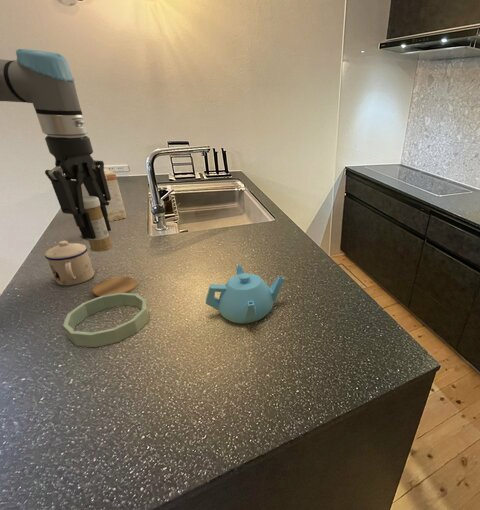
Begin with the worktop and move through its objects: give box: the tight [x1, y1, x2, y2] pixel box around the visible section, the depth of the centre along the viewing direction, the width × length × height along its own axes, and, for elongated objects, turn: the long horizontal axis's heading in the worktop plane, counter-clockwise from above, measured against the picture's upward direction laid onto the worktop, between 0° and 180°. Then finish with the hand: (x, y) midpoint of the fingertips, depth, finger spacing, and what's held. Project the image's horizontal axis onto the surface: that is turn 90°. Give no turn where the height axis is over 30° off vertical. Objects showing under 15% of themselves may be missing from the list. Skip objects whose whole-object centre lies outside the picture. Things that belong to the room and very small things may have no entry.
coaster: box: [92, 276, 137, 298], centre depth 86 cm, size 10×10×1 cm
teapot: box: [205, 264, 285, 325], centre depth 80 cm, size 15×15×11 cm
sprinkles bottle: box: [83, 195, 113, 253], centre depth 76 cm, size 5×5×13 cm
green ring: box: [62, 292, 150, 348], centre depth 73 cm, size 16×16×4 cm
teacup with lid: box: [44, 240, 95, 286], centre depth 85 cm, size 12×9×12 cm
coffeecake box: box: [87, 168, 128, 223], centre depth 128 cm, size 15×7×20 cm, turn 55°
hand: (97, 233), depth 77 cm, fingers closed on sprinkles bottle, 4 cm apart
